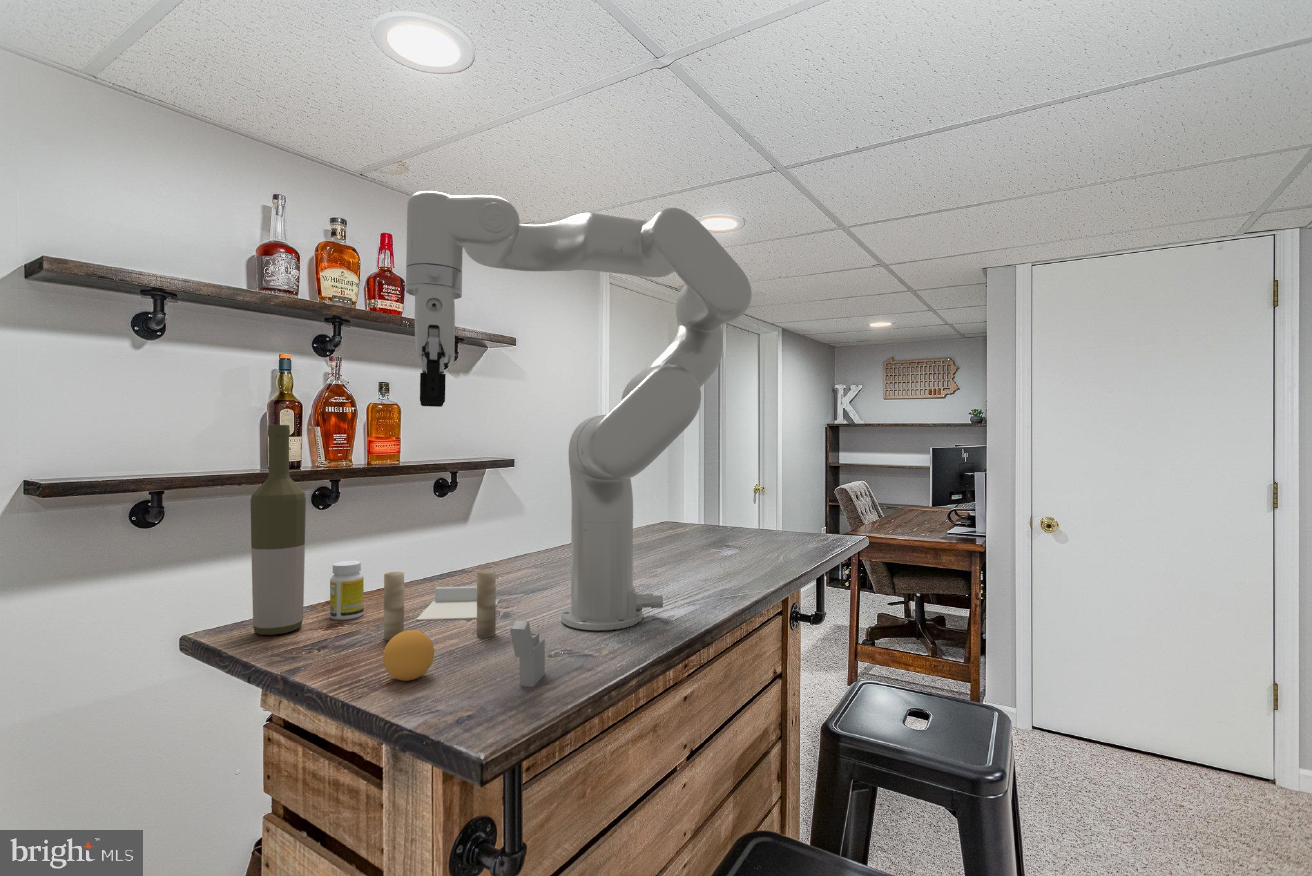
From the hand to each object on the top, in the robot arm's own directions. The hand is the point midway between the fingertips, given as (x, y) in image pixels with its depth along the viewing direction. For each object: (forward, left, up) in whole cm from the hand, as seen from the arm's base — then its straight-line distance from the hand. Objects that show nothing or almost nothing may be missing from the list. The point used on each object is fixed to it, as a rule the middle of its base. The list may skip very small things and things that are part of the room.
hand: (432, 404), depth 90 cm
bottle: (+23, -5, -33) cm, 41 cm away
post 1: (+5, 0, -33) cm, 33 cm away
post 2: (-8, 0, -33) cm, 34 cm away
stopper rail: (-1, -19, -33) cm, 38 cm away
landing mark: (-1, -14, -33) cm, 36 cm away
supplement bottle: (+16, -12, -33) cm, 39 cm away
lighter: (-15, +19, -33) cm, 41 cm away
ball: (-1, +16, -30) cm, 34 cm away
